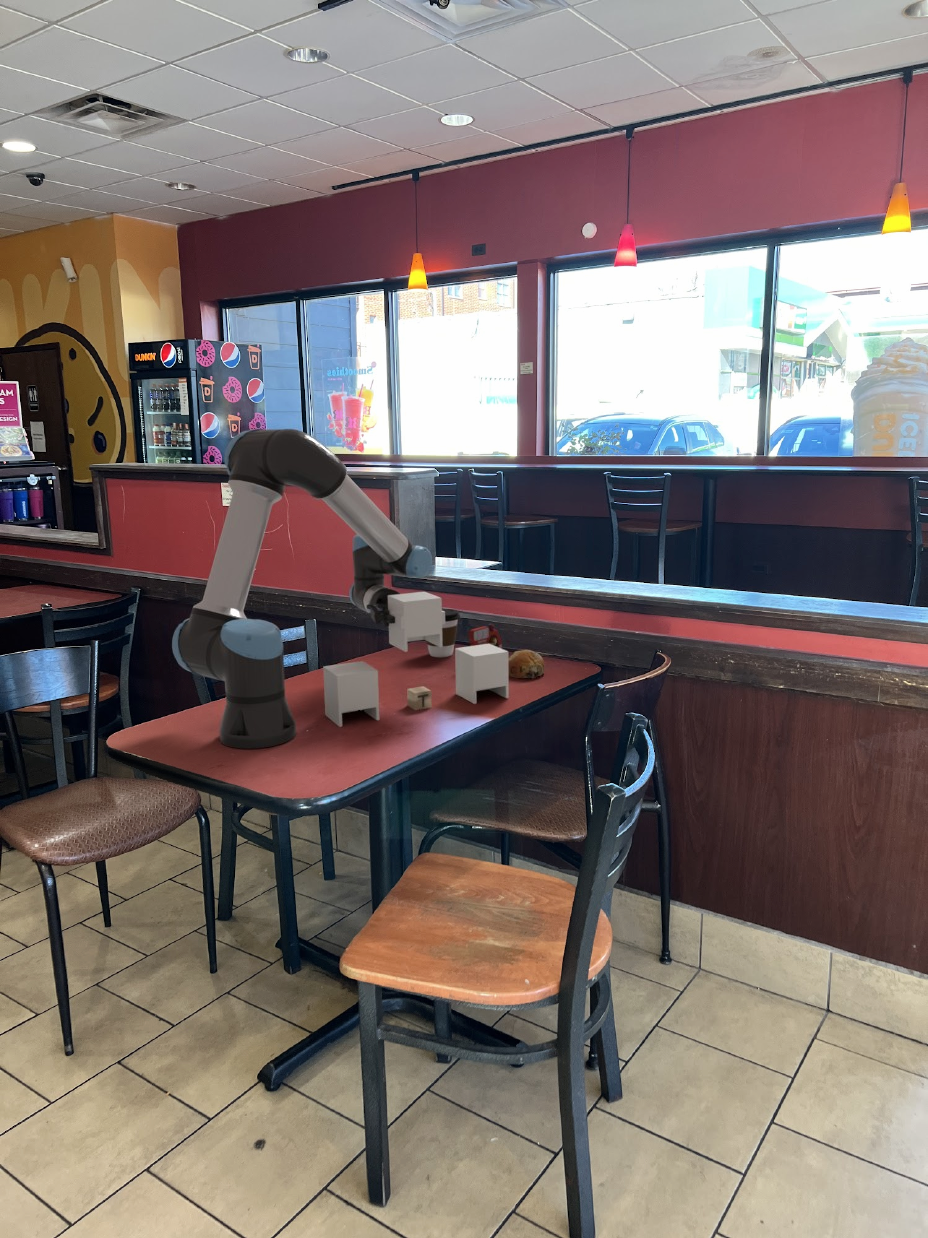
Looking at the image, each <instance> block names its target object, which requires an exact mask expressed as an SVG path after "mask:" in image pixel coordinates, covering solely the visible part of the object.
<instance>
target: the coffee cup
mask: <svg viewBox="0 0 928 1238" xmlns="http://www.w3.org/2000/svg"><path fill="white" fill-rule="evenodd" d="M442 611H445V624H442V644H443V647H439V646H437V645H435V644H432V643H430V642H428V641H426V640H425V641H426V645H427V649H428V653H429V655H430V656H431V657H434V658H448V657H451V656H452V655H453V653H454V650H455V648H454V647H455V644H456V639H457V632H458V625H459V624H458V620H459V619H460V618H461V615H460V614H459V611H458V610H456V609H452V608H443V607H442Z"/></svg>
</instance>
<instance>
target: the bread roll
mask: <svg viewBox="0 0 928 1238" xmlns="http://www.w3.org/2000/svg"><path fill="white" fill-rule="evenodd" d="M545 671H546V664H545V661H544V658H543V657H542V656H541V655H540V654H539V653H537V652H535V651H533V650H531V649H522V650H517V651H514V652H513V654H511V655H509V656H508V677H510V676H511V677H510V678H513V677H514V679H518V678H532V679H536V677H537V676H540V677H542V676H543V675H544V673H545ZM537 678H538V677H537Z"/></svg>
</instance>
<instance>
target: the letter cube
mask: <svg viewBox="0 0 928 1238" xmlns="http://www.w3.org/2000/svg"><path fill="white" fill-rule="evenodd" d="M406 690H407V691H406V696H407V706H408V707H409V708H410V709H412V710H414V711H418V710H419V709H420V710H424V709H431V708H432V690H430V689H429V688H427V687H426V686H417V687H411V688H407V689H406ZM420 710H419V711H420Z"/></svg>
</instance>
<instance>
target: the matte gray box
mask: <svg viewBox="0 0 928 1238" xmlns="http://www.w3.org/2000/svg"><path fill="white" fill-rule="evenodd" d="M454 650H455V651H454V652H455V653H454V654H455V657H454V658H455V661H454V662H455V694H456V695H457V696H459V697H462V699H465V700H467V701H469V702H470V703H472V704H474V705H476V704H477V692H481V691H487V690H490V691H491V692H493V693H495V694H497V695H499V696H501V697H503V698H505V699H510V698H509V695H510V694H509V690H510V689H509V684H510V683H509V675H508V659H509V651H508V650H506V649H504V650H503V648H502V649H501V648H498V647H496V646H494V645H491V644H483V645H476V646H470V645H469V646H463V647H455V648H454Z"/></svg>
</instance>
